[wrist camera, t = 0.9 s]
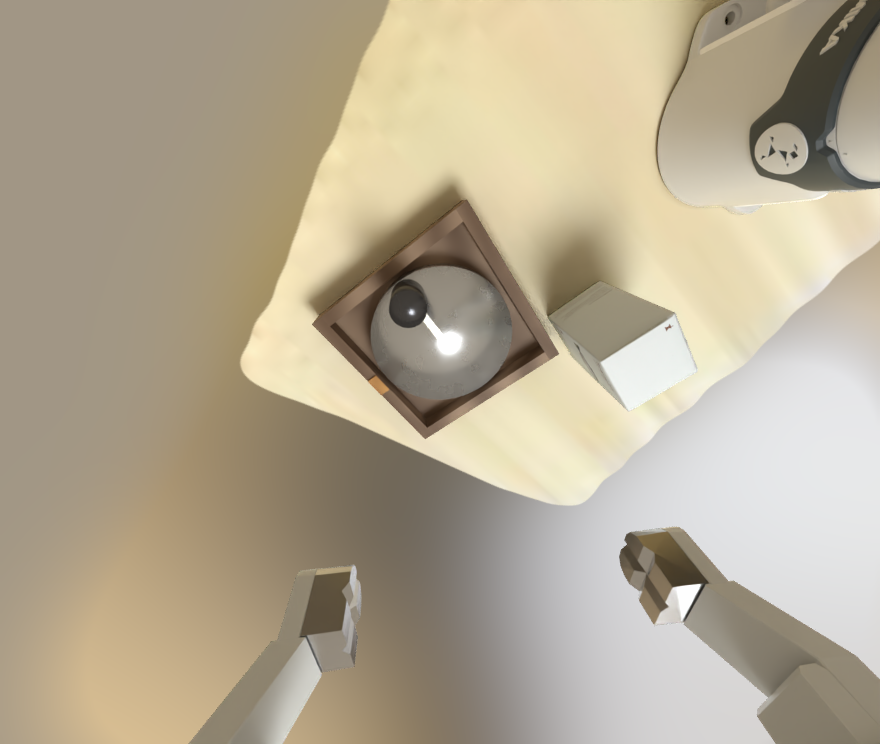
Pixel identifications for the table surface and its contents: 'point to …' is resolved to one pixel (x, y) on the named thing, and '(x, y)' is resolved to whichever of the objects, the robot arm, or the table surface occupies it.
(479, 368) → the dial
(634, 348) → the supplement box
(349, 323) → the dial housing
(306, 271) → the table surface
